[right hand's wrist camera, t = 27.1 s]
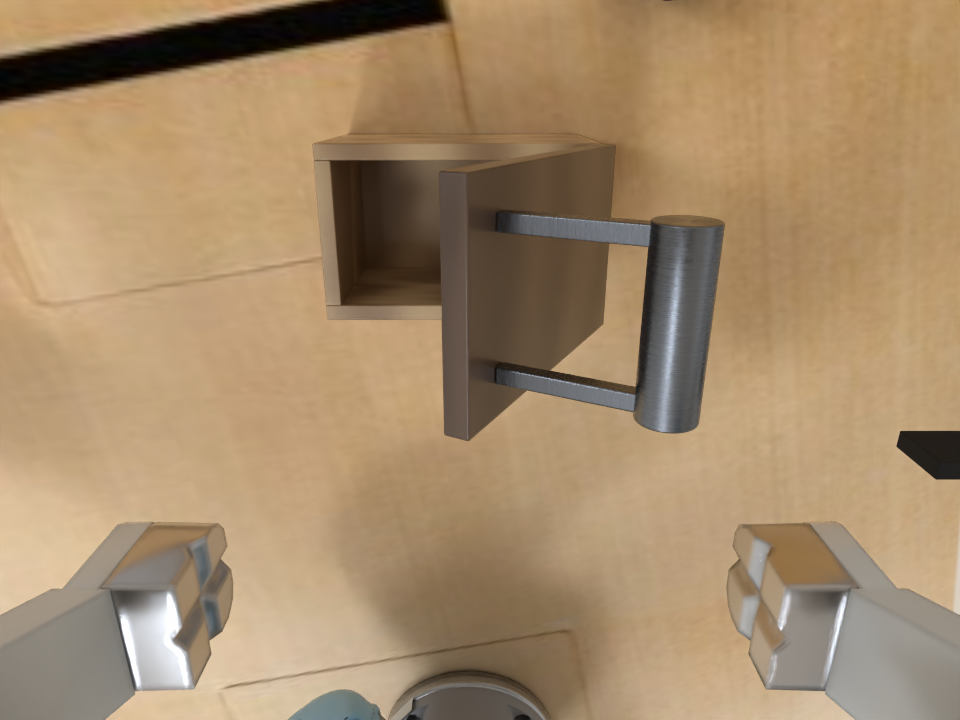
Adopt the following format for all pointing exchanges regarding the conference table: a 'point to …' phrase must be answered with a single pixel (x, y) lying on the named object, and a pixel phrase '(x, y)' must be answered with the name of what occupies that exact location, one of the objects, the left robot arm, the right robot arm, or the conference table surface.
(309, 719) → the left robot arm
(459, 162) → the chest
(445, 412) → the door
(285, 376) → the conference table surface
